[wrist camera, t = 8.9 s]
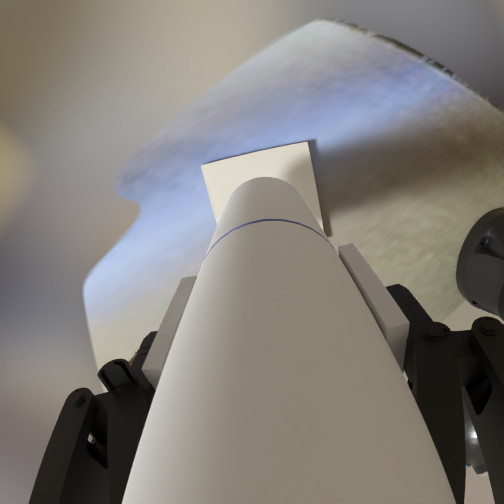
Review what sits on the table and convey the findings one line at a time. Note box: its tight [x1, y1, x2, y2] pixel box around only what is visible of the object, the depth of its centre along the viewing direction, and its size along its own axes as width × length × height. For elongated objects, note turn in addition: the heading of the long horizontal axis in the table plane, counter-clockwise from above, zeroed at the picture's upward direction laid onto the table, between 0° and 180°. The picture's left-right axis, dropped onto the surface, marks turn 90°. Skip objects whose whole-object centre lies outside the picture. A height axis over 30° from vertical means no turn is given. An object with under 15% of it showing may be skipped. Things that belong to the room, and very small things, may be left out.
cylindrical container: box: [122, 177, 456, 504], centre depth 14 cm, size 7×7×25 cm
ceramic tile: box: [201, 142, 324, 231], centre depth 31 cm, size 11×11×1 cm
